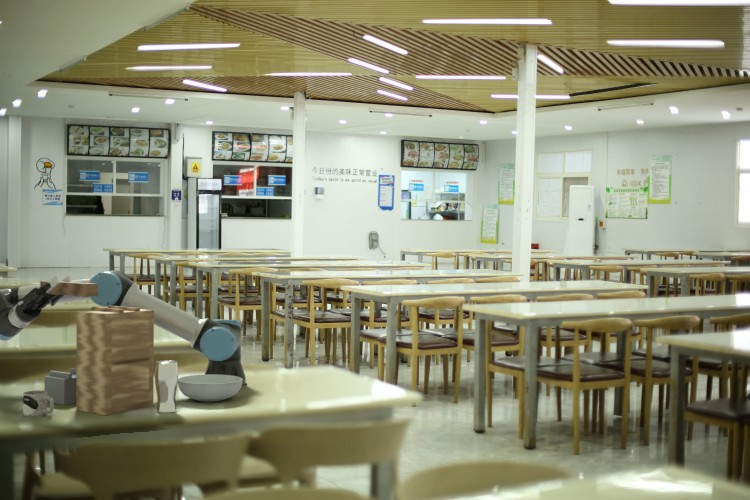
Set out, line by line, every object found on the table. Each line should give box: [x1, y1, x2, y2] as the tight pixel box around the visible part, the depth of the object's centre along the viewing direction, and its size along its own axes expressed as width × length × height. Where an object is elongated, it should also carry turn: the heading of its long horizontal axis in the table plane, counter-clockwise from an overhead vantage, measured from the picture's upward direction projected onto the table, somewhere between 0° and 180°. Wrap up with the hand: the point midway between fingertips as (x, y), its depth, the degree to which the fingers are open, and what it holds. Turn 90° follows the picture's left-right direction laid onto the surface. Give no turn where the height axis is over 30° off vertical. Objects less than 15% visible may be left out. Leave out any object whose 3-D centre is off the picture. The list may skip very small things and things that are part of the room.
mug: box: [22, 390, 55, 418], centre depth 263 cm, size 10×7×7 cm, turn 68°
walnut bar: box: [39, 280, 98, 297], centre depth 287 cm, size 24×4×4 cm, turn 56°
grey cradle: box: [44, 367, 76, 406], centre depth 287 cm, size 10×12×10 cm
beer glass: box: [154, 359, 179, 414], centre depth 270 cm, size 7×7×15 cm
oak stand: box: [75, 306, 155, 416], centre depth 274 cm, size 14×18×31 cm
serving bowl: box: [177, 374, 243, 403], centre depth 291 cm, size 21×21×7 cm
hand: (63, 279), depth 288 cm, fingers closed on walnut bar, 4 cm apart
